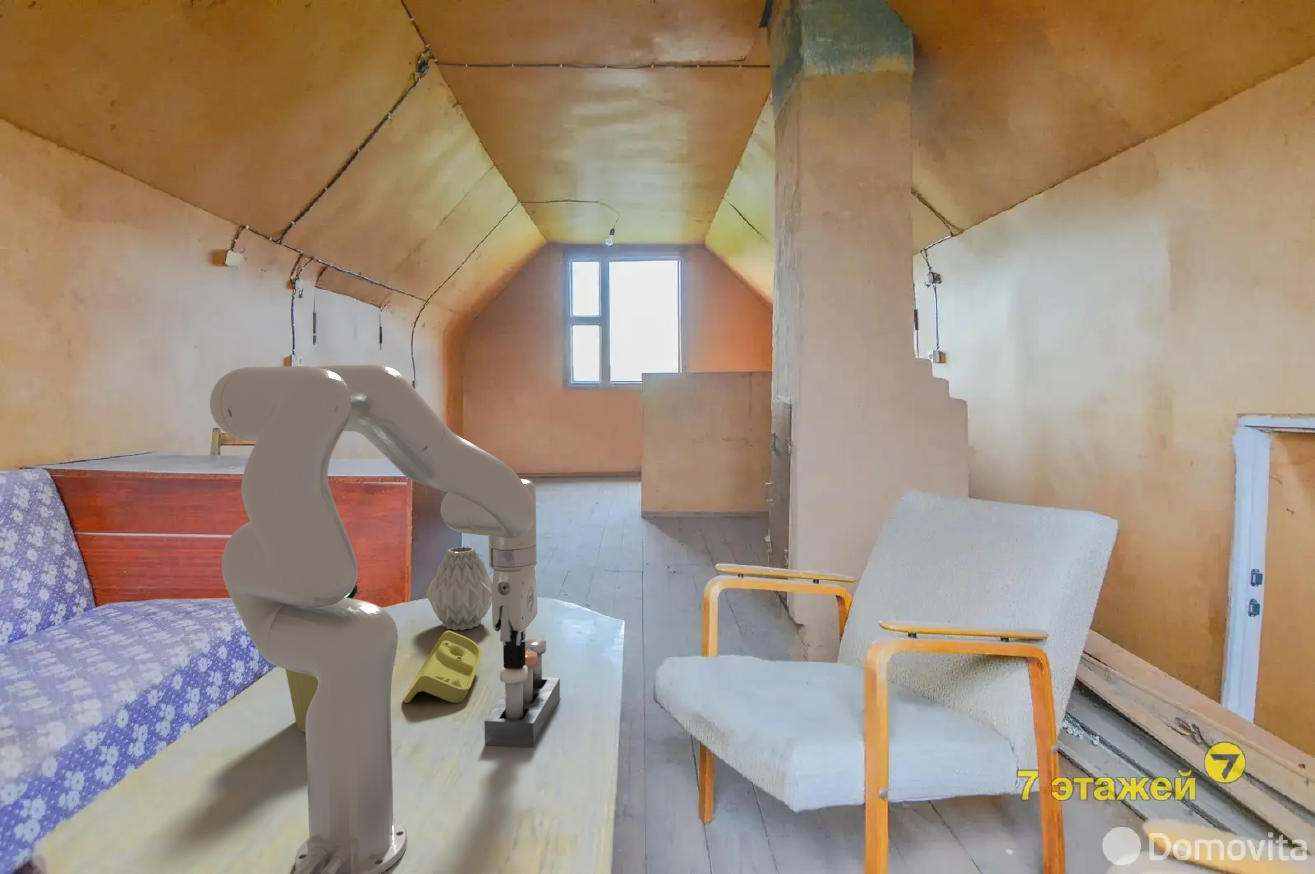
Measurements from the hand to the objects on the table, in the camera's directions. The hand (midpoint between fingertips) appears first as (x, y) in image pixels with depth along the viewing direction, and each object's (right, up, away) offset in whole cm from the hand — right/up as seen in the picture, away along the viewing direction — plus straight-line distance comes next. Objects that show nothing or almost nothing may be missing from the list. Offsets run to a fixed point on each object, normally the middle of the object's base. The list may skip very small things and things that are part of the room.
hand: (514, 666), depth 118 cm
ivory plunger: (0, -9, 0) cm, 9 cm away
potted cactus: (-33, -11, +7) cm, 35 cm away
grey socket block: (0, -11, +7) cm, 13 cm away
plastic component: (-17, -11, +22) cm, 30 cm away
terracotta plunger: (0, -8, +6) cm, 11 cm away
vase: (-24, -8, +56) cm, 61 cm away
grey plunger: (+1, -8, +12) cm, 15 cm away
